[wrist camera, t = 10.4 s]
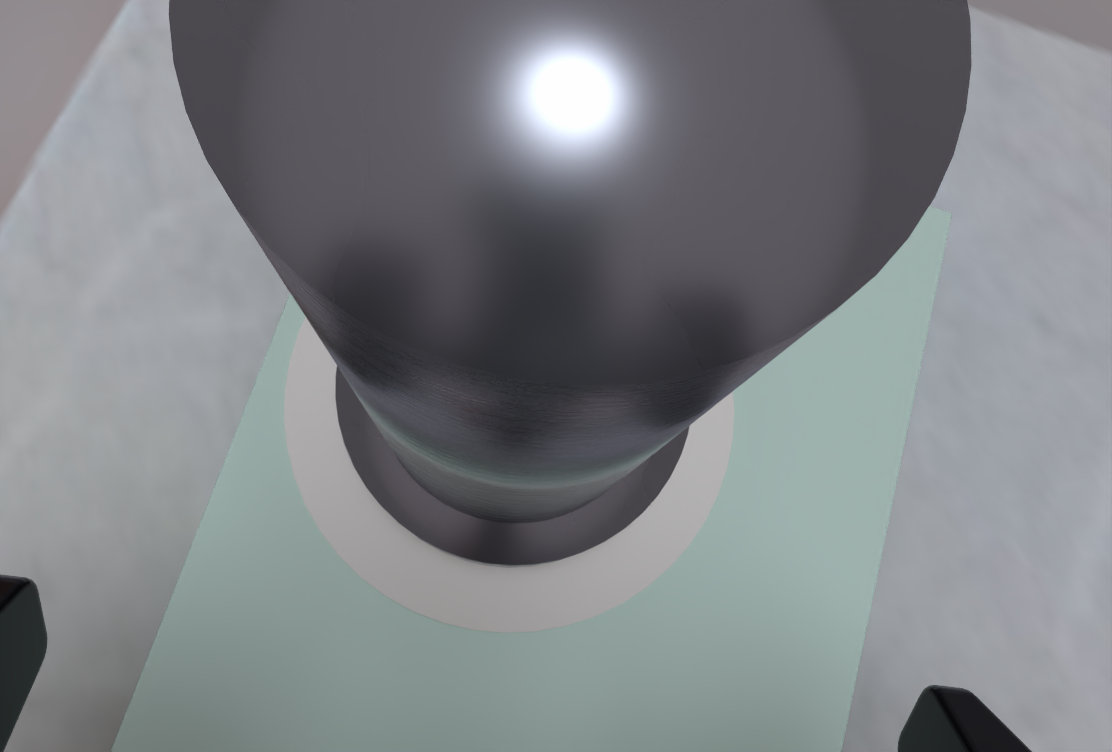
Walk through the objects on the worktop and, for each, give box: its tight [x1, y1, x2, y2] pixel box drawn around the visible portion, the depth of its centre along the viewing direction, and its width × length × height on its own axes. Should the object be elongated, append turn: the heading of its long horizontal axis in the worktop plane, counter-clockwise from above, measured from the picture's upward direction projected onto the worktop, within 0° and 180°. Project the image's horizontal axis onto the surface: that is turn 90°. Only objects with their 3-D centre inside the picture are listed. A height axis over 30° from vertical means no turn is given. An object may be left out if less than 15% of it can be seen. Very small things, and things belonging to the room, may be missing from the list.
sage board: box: [111, 206, 952, 752], centre depth 18 cm, size 20×13×2 cm, turn 163°
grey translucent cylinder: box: [169, 0, 971, 568], centre depth 12 cm, size 6×6×13 cm
